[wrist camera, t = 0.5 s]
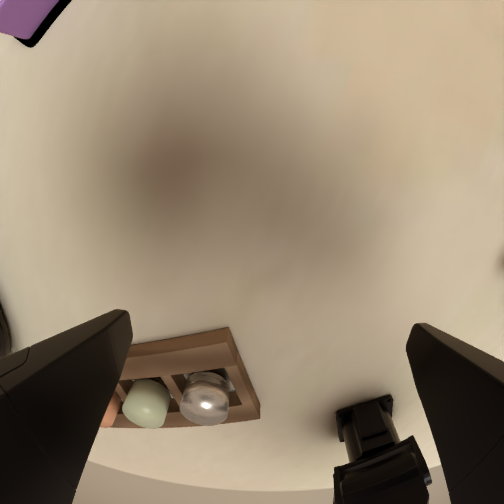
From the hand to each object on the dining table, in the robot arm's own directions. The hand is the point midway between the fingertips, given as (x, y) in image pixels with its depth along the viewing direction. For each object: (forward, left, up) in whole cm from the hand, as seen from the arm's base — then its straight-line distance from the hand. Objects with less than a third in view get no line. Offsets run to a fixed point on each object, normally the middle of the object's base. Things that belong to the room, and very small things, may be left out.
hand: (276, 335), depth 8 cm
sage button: (-13, +15, -12) cm, 23 cm away
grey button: (-13, +9, -12) cm, 19 cm away
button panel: (-13, +15, -13) cm, 23 cm away
